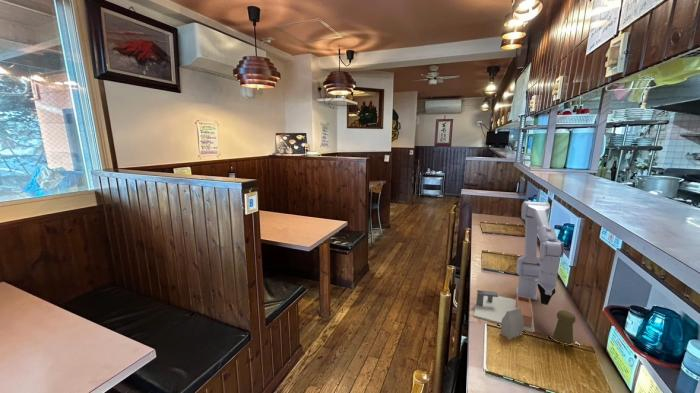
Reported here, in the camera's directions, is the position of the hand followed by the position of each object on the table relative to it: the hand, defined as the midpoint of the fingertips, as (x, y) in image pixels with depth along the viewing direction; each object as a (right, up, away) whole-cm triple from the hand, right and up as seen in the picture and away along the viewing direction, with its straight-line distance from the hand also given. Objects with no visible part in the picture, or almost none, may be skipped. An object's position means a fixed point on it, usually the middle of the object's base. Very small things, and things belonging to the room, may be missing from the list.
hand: (544, 303), depth 112 cm
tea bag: (-17, -9, -7) cm, 20 cm away
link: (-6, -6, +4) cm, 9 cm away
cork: (0, -10, -10) cm, 14 cm away
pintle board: (-12, -6, +9) cm, 16 cm away
